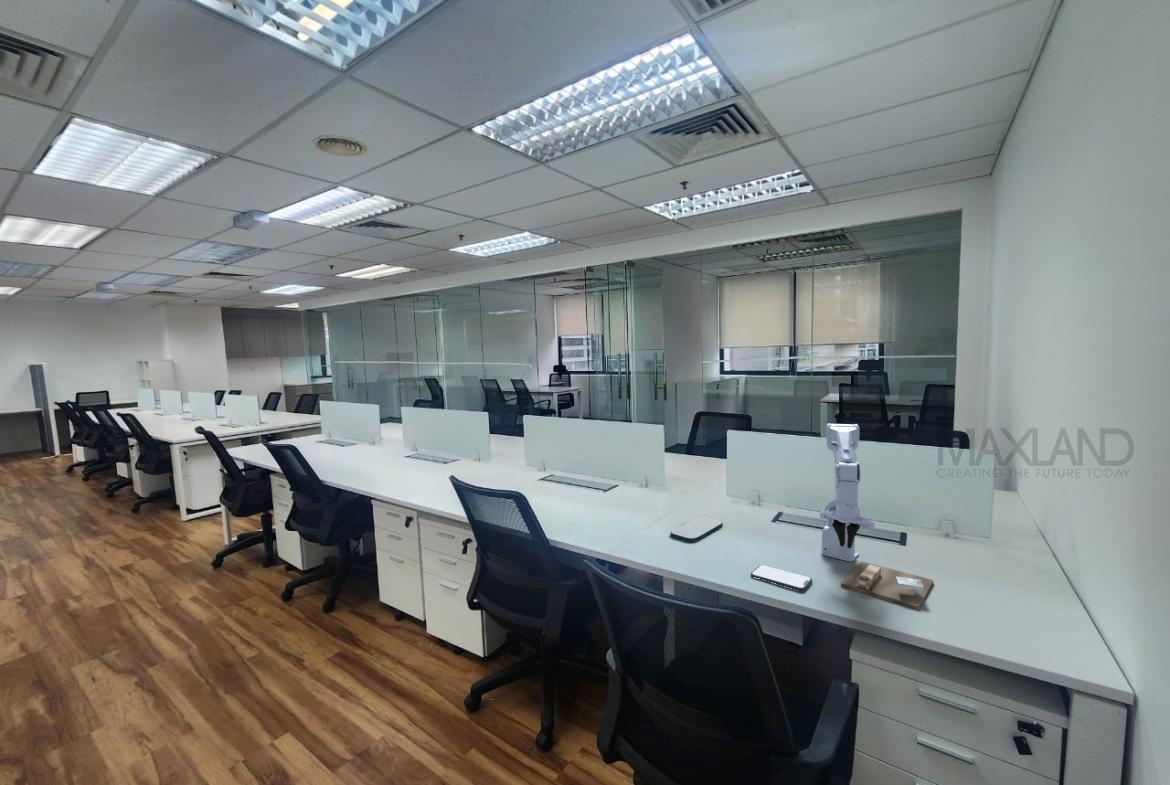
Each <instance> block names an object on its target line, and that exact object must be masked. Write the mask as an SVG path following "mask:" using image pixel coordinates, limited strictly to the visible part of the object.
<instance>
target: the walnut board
mask: <svg viewBox="0 0 1170 785" xmlns="http://www.w3.org/2000/svg"><path fill="white" fill-rule="evenodd" d="M869 564H870V565H874V566H878V567H881V574H880V575H879V576H878V578H877V579H876V580H875V581H874V583H873V584H872V585H871V588H869V589H864V588H861V587H859V586H856V585H857V577H858V576H860V575H861V574H862V572H863V571H864V570H865V569H866V568H867V567H868V566H869ZM896 576H898V577H905V578H912V579H919V580H921V582H922V584H923V587H924V590H923V598H921V597H915V596H913V593H912V588H907V587H901V586H898V584H897V581H896ZM933 585H934V579H930V578H928V577H923V576H919V575H916V574H911V573H908V572H904V571H900V570H896V569H892V568H888V567H884V566H881V565H877V564H874V563H870V562H866V561H862V560H861V561H859V563H858V564H857V565H856V566H855V567H854V568H853V569H852V570H851V571H850V573H849V574H847V576H846V577H845V578H844V579H843V580H842V581H841V582H840V587H841V586H842V588H845V589H847V590H848V589H849V590H853V591H854V592H855V591H856V592H858V593H862V594H866V595H868V596H871V597H875V598H878V599H882V600H885V601H888V602H891V603H894V604H897V605H900V606H905V607H909V608H911V609H914V610H918V611H919V609H920V608H921V606H922V605H923V602H924V601H925V599H926V597H927V595H928V593H929V592H930V590H931V588H932V586H933Z"/></svg>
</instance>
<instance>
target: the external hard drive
mask: <svg viewBox="0 0 1170 785" xmlns="http://www.w3.org/2000/svg"><path fill="white" fill-rule="evenodd" d="M723 526H724V524H723V521H722V520H721V519H717V518H713V517H709V516H702V515H700V516H695V517H694V518H692V519H690V520H688V521H686V522H684V523H682V524H681V525H679V526H676V527H675V528H673V529H671V530H670V538H673V539H675V538H677V539H676V540H679V539H680V540H679V541H682V540H684V541H683V542H686V541H688V542H687V543H696V542H695V541H697V542H699V541H701V540H702V538H703V539H704V538H706V537H708V536H709V534H710V535H711V534H713V533H715V532H716V531H718V530H720V529H721V528H723ZM719 528H720V529H719ZM714 531H715V532H714ZM712 532H713V533H712ZM707 535H708V536H707ZM700 539H701V540H700ZM698 540H699V541H698Z"/></svg>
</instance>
